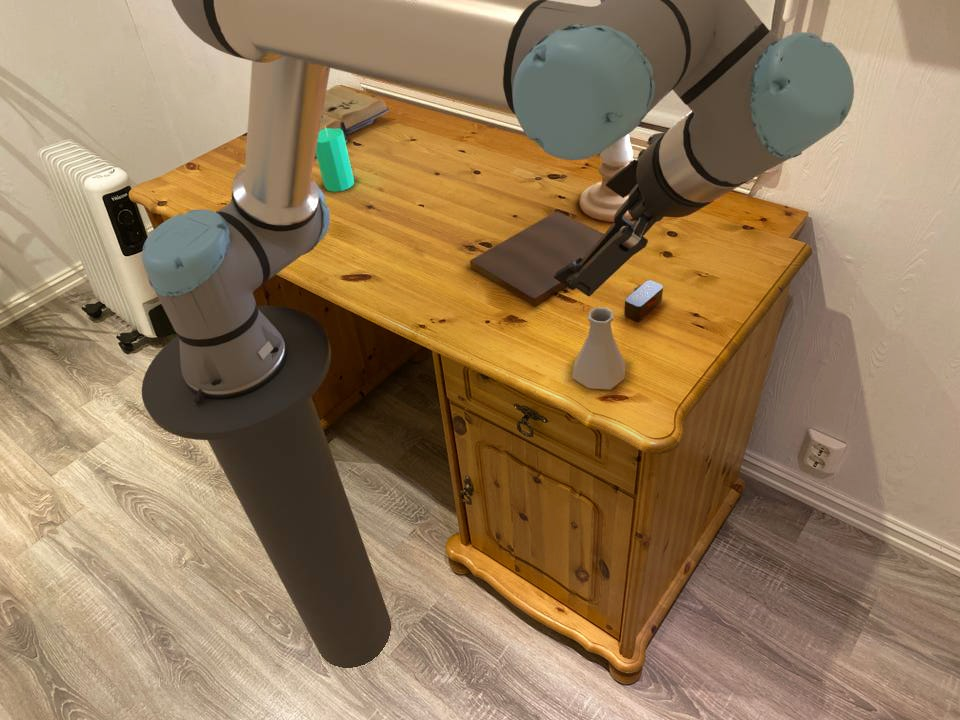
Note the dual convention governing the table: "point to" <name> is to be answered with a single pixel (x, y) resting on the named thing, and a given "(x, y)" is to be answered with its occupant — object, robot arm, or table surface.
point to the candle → (334, 160)
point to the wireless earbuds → (643, 300)
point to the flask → (599, 354)
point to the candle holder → (598, 196)
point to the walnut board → (537, 256)
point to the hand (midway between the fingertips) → (590, 234)
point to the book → (349, 109)
